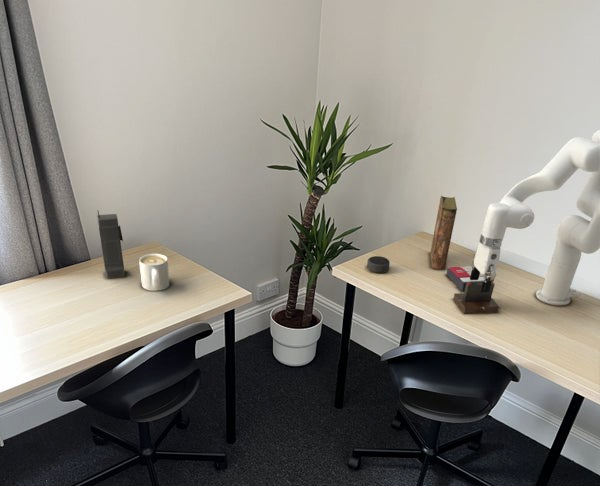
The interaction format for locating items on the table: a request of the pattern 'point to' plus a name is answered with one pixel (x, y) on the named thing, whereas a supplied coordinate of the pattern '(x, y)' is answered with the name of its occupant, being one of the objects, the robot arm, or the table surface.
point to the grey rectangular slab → (477, 292)
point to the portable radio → (111, 245)
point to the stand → (475, 305)
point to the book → (443, 232)
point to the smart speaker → (378, 264)
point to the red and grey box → (462, 276)
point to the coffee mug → (154, 272)
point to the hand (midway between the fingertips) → (479, 285)
